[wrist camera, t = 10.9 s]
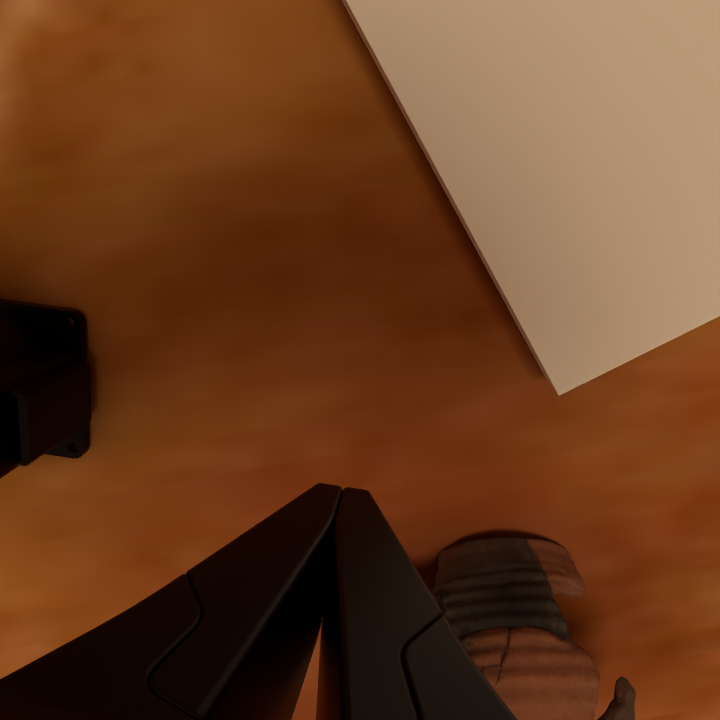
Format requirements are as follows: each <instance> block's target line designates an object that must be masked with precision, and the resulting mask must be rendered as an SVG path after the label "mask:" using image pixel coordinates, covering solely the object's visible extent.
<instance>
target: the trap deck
mask: <svg viewBox="0 0 720 720" xmlns="http://www.w3.org/2000/svg"><path fill="white" fill-rule="evenodd" d="M341 1H342V3H343V4H344V6H345V8H346V10H347V12H348V14H349V16H350V17H351V19H352V21H353V23H354V25H355V27H356V28H357V30H358V32H359V34H360V36H361V38H362V40H363V41H364V43H365V45H366V47H367V49H368V51H369V53H370V54H371V56H372V58H373V60H374V62H375V64H376V65H377V67H378V69H379V71H380V73H381V75H382V77H383V78H384V80H385V82H386V84H387V86H388V88H389V90H390V91H391V93H392V95H393V97H394V99H395V101H396V102H397V104H398V106H399V108H400V110H401V112H402V114H403V115H404V117H405V119H406V121H407V123H408V125H409V127H410V128H411V130H412V132H413V134H414V136H415V138H416V139H417V141H418V143H419V145H420V147H421V149H422V151H423V152H424V154H425V156H426V158H427V160H428V162H429V164H430V165H431V167H432V169H433V171H434V173H435V175H436V176H437V178H438V180H439V182H440V184H441V186H442V188H443V189H444V191H445V193H446V195H447V197H448V199H449V201H450V202H451V204H452V206H453V208H454V210H455V212H456V214H457V215H458V217H459V219H460V221H461V223H462V225H463V226H464V228H465V230H466V232H467V234H468V236H469V238H470V239H471V241H472V243H473V245H474V247H475V249H476V251H477V252H478V254H479V256H480V258H481V260H482V262H483V263H484V265H485V267H486V269H487V271H488V273H489V275H490V276H491V278H492V280H493V282H494V284H495V286H496V288H497V289H498V291H499V293H500V295H501V297H502V299H503V300H504V302H505V304H506V306H507V308H508V310H509V312H510V313H511V315H512V317H513V319H514V321H515V323H516V325H517V326H518V328H519V330H520V332H521V334H522V336H523V337H524V339H525V341H526V343H527V345H528V347H529V349H530V350H531V352H532V354H533V356H534V358H535V360H536V362H537V363H538V365H539V367H540V369H541V371H542V373H543V375H544V376H545V378H546V379H547V381H548V382H549V383H550V385H551V386H552V387H553V389H554V390H555V391H556V392H557V394H558V395H561V394H563V393H565V392H567V391H569V390H571V389H573V388H575V387H577V386H579V385H582V384H584V383H586V382H588V381H590V380H592V379H594V378H596V377H598V376H600V375H602V374H604V373H606V372H608V371H610V370H612V369H614V368H616V367H618V366H620V365H622V364H624V363H626V362H628V361H630V360H632V359H634V358H636V357H638V356H640V355H642V354H644V353H646V352H648V351H650V350H652V349H654V348H656V347H658V346H660V345H662V344H664V343H666V342H668V341H670V340H672V339H674V338H676V337H678V336H680V335H682V334H684V333H686V332H688V331H690V330H692V329H694V328H696V327H698V326H701V325H703V324H705V323H707V322H709V321H711V320H713V319H715V318H717V317H719V316H720V0H341Z"/></svg>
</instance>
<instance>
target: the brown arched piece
mask: <svg viewBox="0 0 720 720" xmlns="http://www.w3.org/2000/svg"><path fill="white" fill-rule="evenodd" d="M435 582H436V583H435V586H434V589H433V590H430V589H429V588H428V587H427V588H428V589H429V591H430V593H431V594H432V596H433V598H434V599H435V601H436V602H437V604H438V606H439V607H440V609H441V611H442V612H443V615H444V617H446V619H447V620H448V622H449V624H450V625H451V627H452V629H453V630H454V632H455V633H456V635H457V637H458V638H459V640H460V641H461V643H462V644H463V646H464V647H465V649H466V650H467V652H468V653H469V655H470V657H471V658H472V660H473V661H474V663H475V664H476V665H477V667H478V668H479V669H480V671H481V672H482V674H483V675H484V676H485V678H486V679H487V680H488V682H489V683H490V684H491V686H492V687H493V688H494V690H495V691H496V692H497V694H498V695H499V696H500V698H501V699H502V700H503V702H504V703H505V704H506V705H507V707H508V708H509V709H510V710H511V712H512V713H513V714H514V716H515V717H516V718H517V719H518V720H593V719H594V716H595V713H594V709H595V706H596V704H597V699H598V688H599V683H600V675H599V673H598V671H597V670H596V667H595V664H594V662H593V660H592V658H591V657H590V655H589V654H588V652H587V651H585V650H584V649H582V648H581V647H579V646H578V645H577V644H574V643H572V642H571V641H570V638H571V633H570V631H569V629H568V626H567V624H566V621H565V619H564V617H563V616H562V614H561V612H560V610H559V607H558V604H557V602H556V601H555V599H554V598H553V596H552V595H554V594H562V595H570V596H574V597H577V598H580V597H582V596H583V595H584V593H585V591H586V589H585V585H584V582H583V580H582V578H581V576H580V574H579V573H578V571H577V569H576V567H575V566H574V564H573V562H572V561H571V559H570V557H569V555H568V552H567V551H566V549H565V548H564V547H563V546H560V545H558V544H556V543H554V542H549V541H545V540H541V539H530V538H528V539H524V538H520V537H516V538H515V537H514V538H512V537H511V538H504V537H499V536H498V537H493V538H487V539H476V540H471V541H466V542H463V543H461V544H459V545H455V546H452V547H450V548H448V549H445V550H444V551H442V552H440V553H439V556H438V572H437V574H436V578H435ZM635 697H636V693H635V690H634V688H633V687H632V686H631V684H630V683H629V681H628V680H627V679H626V678H624V677H620V678H619V679H618V680H617V681H616V684H615V691H614V699H613V700H612V701H611V702H610V704H609V706H608V708H607V710H606V711H605V713H604V714H603V715H602V716H601V717H600V718H599V719H598V720H635V714H634V702H635Z"/></svg>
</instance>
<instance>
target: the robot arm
mask: <svg viewBox="0 0 720 720" xmlns="http://www.w3.org/2000/svg"><path fill="white" fill-rule="evenodd" d="M68 317H69V318H71V319H72V320H73V321H74V327H72V326H71V325H70V324H69V323H68ZM90 420H91V387H90V366H89V364H88V362H87V347H86V321H85V318H84V316H83V314H82V313H81V312H79V311H78V310H75V309H70V308H63V307H56V306H49V305H41V304H34V303H27V302H20V301H12V300H5V299H0V478H2V477H3V476H5V475H6V474H8V473H9V472H10V471H12V470H13V469H15V468H16V467H18V466H19V465H20V466H27V465H29V464H30V463H32V462H33V461H35V460H36V459H37V458H39V457H40V456H42V455H43V454H48V455H55V456H62V457H68V458H79V457H81V456H82V455H83V454H85V453H86V452H87V451H88V449H89V421H90ZM73 443H76V444H77V445H78V448H79V449H77V448H75V447H74V446H73ZM322 617H323V620H322ZM321 622H322V628H321V640H320V656H319V675H318V693H317V712H316V720H518V719H517V718H516V717H515V716H514V714H513V713H512V712H511V710H510V709H509V708H508V707H507V705H506V704H505V703H504V702H503V700H502V699H501V698H500V696H499V695H498V694H497V692H496V691H495V690H494V688H493V687H492V686H491V684H490V683H489V682H488V680H487V679H486V678H485V676H484V675H483V674H482V672H481V671H480V669H479V668H478V667H477V665H476V664H475V663H474V661H473V660H472V658H471V657H470V655H469V653H468V652H467V650H466V649H465V647H464V646H463V644H462V643H461V641H460V640H459V638H458V637H457V635H456V633H455V632H454V630H453V629H452V627H451V625H450V624H449V622H448V620H447V619H446V617H444V615H443V612H442V611H441V609H440V607H439V606H438V604H437V602H436V601H435V599H434V598H433V596H432V594H431V593H430V591H429V589H428V588H427V586H426V584H425V583H424V581H423V579H422V578H421V576H420V574H419V573H418V571H417V569H416V568H415V566H414V565H413V563H412V561H411V560H410V558H409V556H408V555H407V553H406V551H405V550H404V548H403V546H402V545H401V543H400V541H399V540H398V538H397V537H396V535H395V533H394V532H393V530H392V528H391V527H390V525H389V523H388V522H387V520H386V518H385V517H384V515H383V513H382V512H381V510H380V509H379V507H378V505H377V504H376V502H375V500H374V499H373V497H372V495H371V494H370V492H369V491H367V490H363V489H357V488H350V487H346V488H345V489H344V490H343V489H342V488H341V487H340V486H337V485H330V484H324V483H318V484H316V485H315V486H313V487H312V488H310V489H309V490H307V491H306V492H304V493H303V494H301V495H300V496H298V497H297V498H295V499H294V500H292V501H291V502H289V503H288V504H286V505H285V506H284V507H282V508H281V509H279V510H278V511H276V512H275V513H273V514H272V515H270V516H269V517H267V518H266V519H264V520H263V521H261V522H260V523H258V524H257V525H255V526H254V527H252V528H251V529H249V530H248V531H246V532H245V533H243V534H242V535H240V536H239V537H237V538H236V539H235V540H233V541H232V542H230V543H229V544H227V545H226V546H224V547H223V548H221V549H220V550H218V551H217V552H215V553H214V554H212V555H211V556H209V557H208V558H206V559H205V560H203V561H202V562H200V563H199V564H197V565H196V566H194V567H193V568H191V569H190V570H188V571H187V573H186V574H182V575H181V576H179V577H178V578H176V579H175V580H173V581H172V582H170V583H169V584H167V585H166V586H164V587H163V588H161V589H160V590H158V591H156V592H155V593H153V594H152V595H150V596H149V597H147V598H145V599H144V600H142V601H141V602H139V603H138V604H136V605H134V606H133V607H131V608H129V609H128V610H126V611H124V612H122V613H121V614H119V615H117V616H115V617H113V618H112V619H110V620H108V621H106V622H105V623H103V624H101V625H99V626H98V627H96V628H94V629H92V630H90V631H89V632H87V633H85V634H83V635H81V636H79V637H78V638H76V639H74V640H72V641H70V642H68V643H66V644H65V645H63V646H61V647H59V648H57V649H55V650H53V651H52V652H50V653H48V654H46V655H44V656H42V657H41V658H39V659H37V660H35V661H33V662H31V663H29V664H28V665H26V666H24V667H22V668H20V669H18V670H16V671H15V672H13V673H11V674H9V675H7V676H5V677H4V678H2V679H0V720H291V719H292V716H293V713H294V710H295V707H296V703H297V700H298V697H299V694H300V691H301V688H302V685H303V682H304V678H305V675H306V672H307V669H308V666H309V663H310V660H311V657H312V654H313V650H314V647H315V644H316V641H317V637H318V634H319V630H320V627H321Z"/></svg>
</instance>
